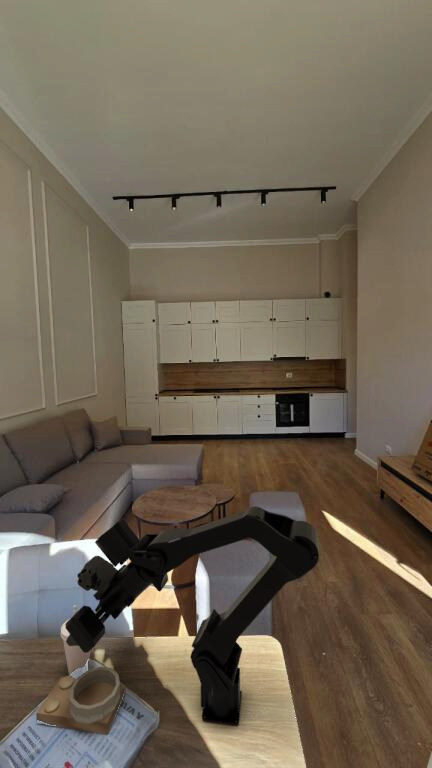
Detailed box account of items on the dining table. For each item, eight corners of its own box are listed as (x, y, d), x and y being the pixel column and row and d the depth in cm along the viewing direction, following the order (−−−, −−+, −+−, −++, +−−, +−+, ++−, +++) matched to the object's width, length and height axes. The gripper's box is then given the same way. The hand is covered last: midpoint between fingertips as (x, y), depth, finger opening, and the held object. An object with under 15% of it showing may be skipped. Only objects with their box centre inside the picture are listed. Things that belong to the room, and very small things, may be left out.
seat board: (127, 692, 68) (126, 669, 68) (107, 737, 60) (106, 711, 59) (62, 684, 70) (62, 662, 70) (34, 726, 62) (34, 701, 61)
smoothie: (54, 677, 72) (52, 608, 71) (80, 654, 77) (78, 591, 77) (77, 690, 69) (75, 619, 68) (102, 665, 74) (100, 599, 74)
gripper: (129, 528, 79) (86, 569, 83) (73, 574, 61) (22, 625, 65) (162, 568, 77) (117, 609, 81) (115, 628, 59) (60, 677, 63)
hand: (83, 626), depth 72 cm, fingers open, 9 cm apart
